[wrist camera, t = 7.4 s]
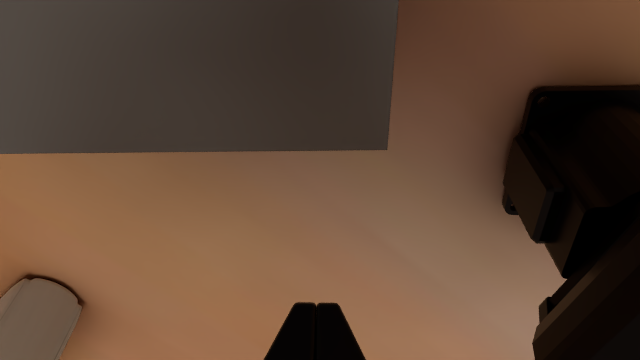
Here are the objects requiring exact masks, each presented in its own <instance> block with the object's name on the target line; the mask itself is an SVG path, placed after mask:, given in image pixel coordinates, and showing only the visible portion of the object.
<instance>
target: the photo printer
mask: <svg viewBox="0 0 640 360" xmlns="http://www.w3.org/2000/svg"><path fill="white" fill-rule="evenodd" d="M77 302H78V300H77V298H76V297H75V295H74V294H73V293H71V292H70V291H69V290H68V289H66V288H65V287H63V286H61V285H59V284H57V283H55V282H52V281H49V280H45V279H40V278H34V279H32V280H29V279H26V278H25V279H23V280H21V281H19V282H18V283H17V284H15V285H14V286H13V287H12V288H10V289H9V290H8V291H7V292H6V293H5V294H4V295H3V296H2V298H0V360H59V359H60V357H61V354H62V352H63V350H64V348H65V346H66V344H67V342H68V340H69V338H70V336H71V334H72V332H73V330H74V328H75V326H76V323H77V321H78V319H79V316H80V313H81V310H82V306H80V305H79V304H78V303H77Z"/></svg>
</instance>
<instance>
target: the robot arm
mask: <svg viewBox="0 0 640 360" xmlns="http://www.w3.org/2000/svg"><path fill="white" fill-rule="evenodd" d="M545 96H546V97H547V98H546V100H545V101H544V102H542V103H538V101H539V99H540V98H542V97H545ZM503 185H504V187H505V193H504V197H503V201H502V205H503V207H504V209H505V211H506V213H508V214H510V215H519V216H520V218H521V220H522V222H523V224H524V226H525V228H526V230H527V232H528V234H529V236H530V238H531V239H532V240H533V241H534V242H535V243H544V244H545V246H546V248H547V250H548V252H549V253H550V255H551V257H552V259H553V261H554V263H555V265H556V267H557V268H558V270H559V272H560V274H561V276H562V277H563V278H566V279H567V280H566V281H565V282H564V283H563V285H562V286H561V287H560V288H559V289H558V290H557V291H556V292H555V293H554V294H553V295H552V297H547V298H546V299H545V300H544V301H543V302H542V303H541V304H540V305H539V321H540V324H539V325H538V326H537V327H536V331H535V335H534V339H533V343H532V344H533V350H534V356H535V360H640V86H571V87H540V88H537V89H535V90H534V91H533V92H532V93H531V94H530V96H529V98H528V102H527V106H526V110H525V114H524V118H523V122H522V126H521V130H520V133H519V134H517V136H516V137H515V138H514V139H513V143H512V147H511V151H510V155H509V159H508V163H507V167H506V171H505V175H504V179H503ZM511 204H514V205H513V206H511ZM264 360H366V359H365V357H364V355H363V353H362V351H361V349H360V347H359V345H358V343H357V341H356V339H355V337H354V335H353V332H352V330H351V328H350V326H349V324H348V322H347V320H346V318H345V316H344V314H343V312H342V310H341V308H340V306H339V305H338V304H337V303H318V304H317V308H316V305H315V303H312V302H297V303H295V304H294V305H293V307H292V309H291V310H290V312H289V314H288V316H287V318H286V320H285V321H284V323H283V325H282V327H281V329H280V331H279V332H278V334H277V336H276V338H275V340H274V342H273V343H272V345H271V347H270V349H269V351H268V353H267V355H266V356H265V358H264Z"/></svg>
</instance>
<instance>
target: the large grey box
mask: <svg viewBox="0 0 640 360" xmlns="http://www.w3.org/2000/svg"><path fill="white" fill-rule="evenodd" d="M398 2H399V0H0V154H23V153H125V152H227V151H329V150H387V146H388V133H389V120H390V107H391V94H392V81H393V68H394V55H395V41H396V28H397V15H398Z"/></svg>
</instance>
